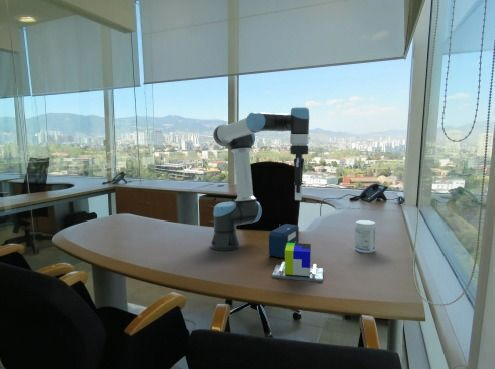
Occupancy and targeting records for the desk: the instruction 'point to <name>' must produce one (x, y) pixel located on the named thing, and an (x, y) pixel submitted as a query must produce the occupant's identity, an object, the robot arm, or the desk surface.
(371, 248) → the supplement tub
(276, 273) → the rail plate
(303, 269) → the puzzle toy
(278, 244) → the radio
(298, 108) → the robot arm
